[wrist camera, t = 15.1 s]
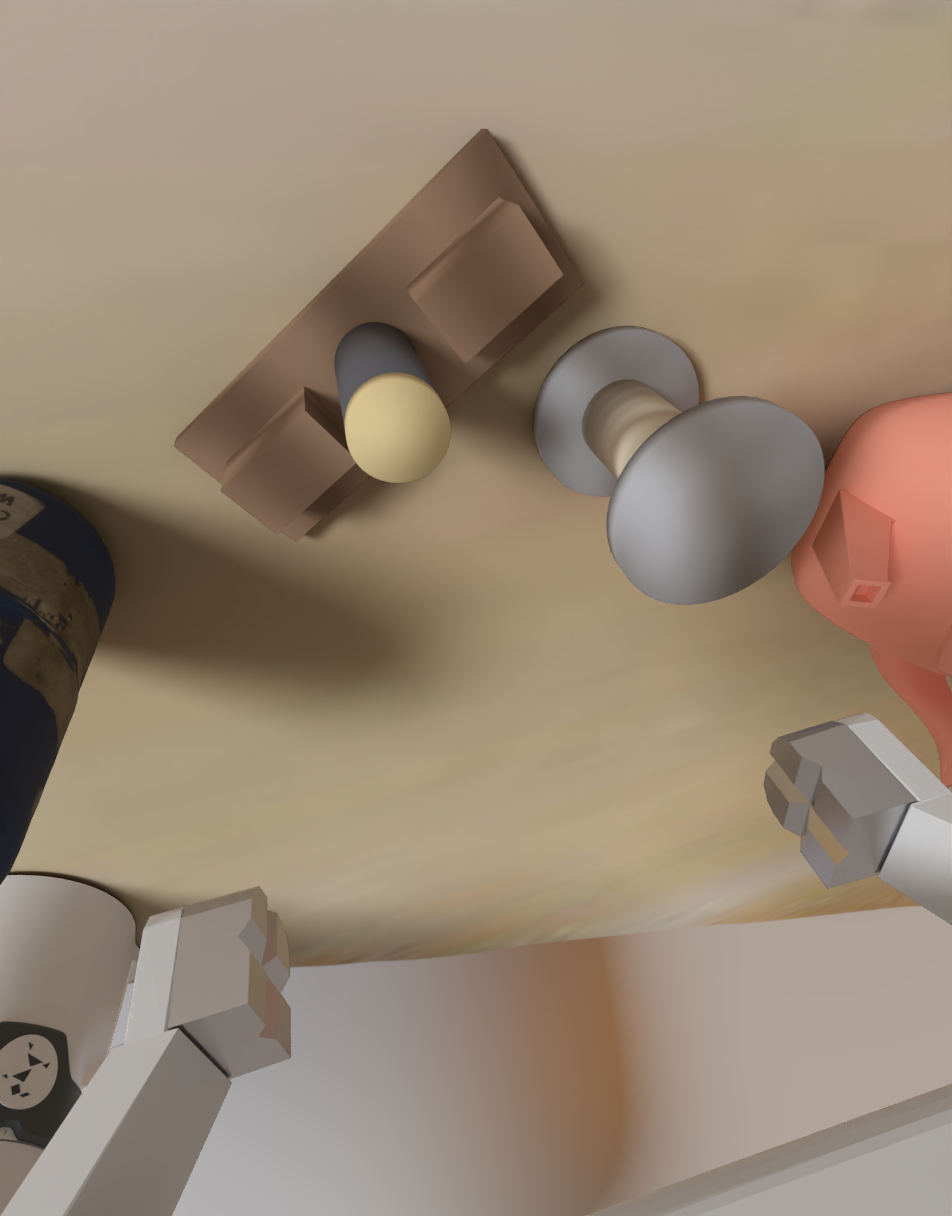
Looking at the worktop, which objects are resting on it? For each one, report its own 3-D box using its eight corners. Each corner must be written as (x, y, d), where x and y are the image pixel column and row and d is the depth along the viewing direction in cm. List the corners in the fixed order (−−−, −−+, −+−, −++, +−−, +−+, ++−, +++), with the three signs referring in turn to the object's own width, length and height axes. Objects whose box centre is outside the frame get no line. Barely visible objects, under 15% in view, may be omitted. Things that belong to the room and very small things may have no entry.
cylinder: (416, 406, 31) (448, 481, 24) (336, 406, 30) (348, 484, 24) (418, 323, 29) (453, 382, 22) (332, 320, 28) (343, 381, 21)
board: (295, 532, 34) (295, 574, 31) (176, 437, 30) (163, 475, 27) (576, 278, 30) (610, 298, 27) (481, 128, 26) (507, 131, 23)
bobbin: (588, 516, 37) (677, 637, 29) (500, 409, 33) (575, 515, 24) (715, 416, 35) (851, 513, 27) (641, 285, 31) (777, 353, 22)
